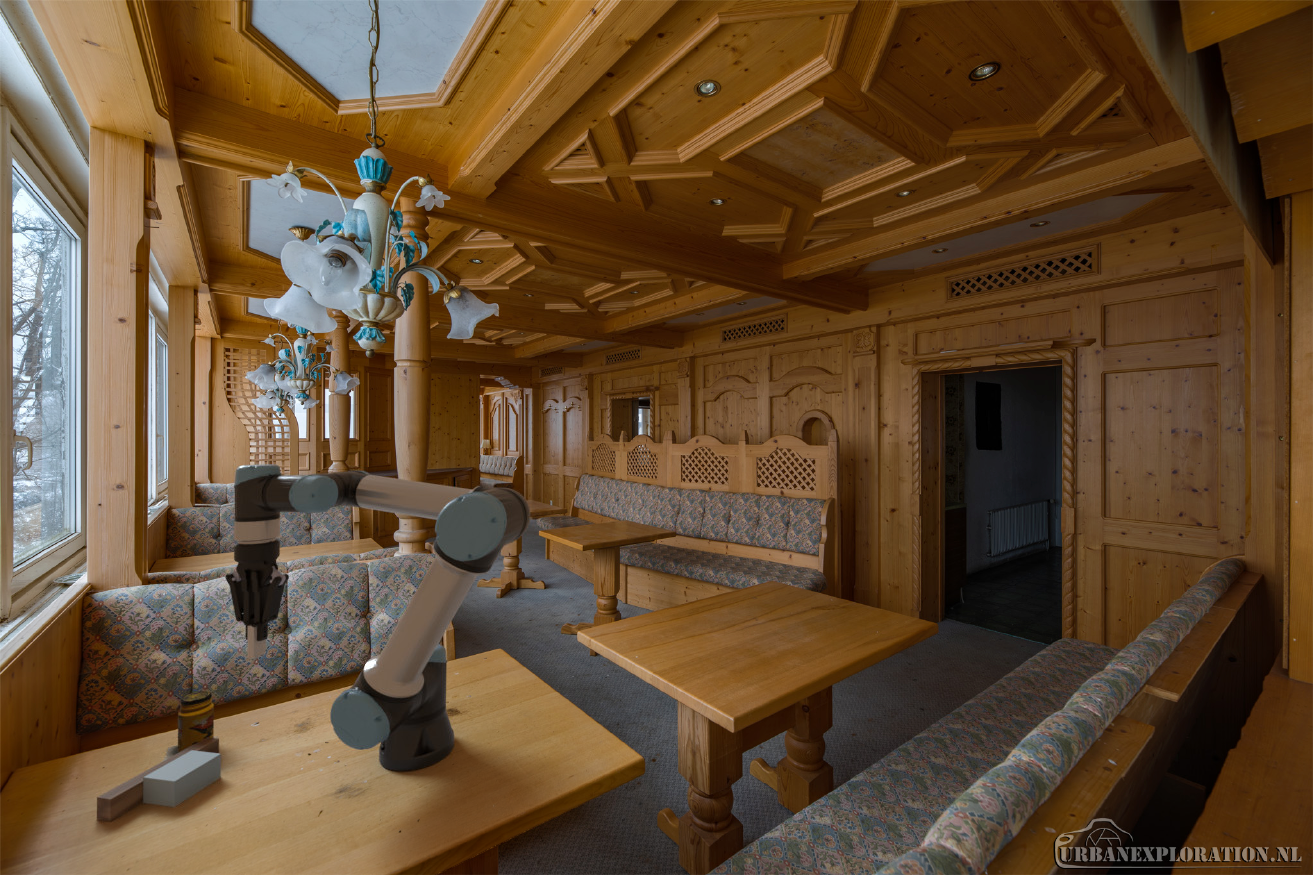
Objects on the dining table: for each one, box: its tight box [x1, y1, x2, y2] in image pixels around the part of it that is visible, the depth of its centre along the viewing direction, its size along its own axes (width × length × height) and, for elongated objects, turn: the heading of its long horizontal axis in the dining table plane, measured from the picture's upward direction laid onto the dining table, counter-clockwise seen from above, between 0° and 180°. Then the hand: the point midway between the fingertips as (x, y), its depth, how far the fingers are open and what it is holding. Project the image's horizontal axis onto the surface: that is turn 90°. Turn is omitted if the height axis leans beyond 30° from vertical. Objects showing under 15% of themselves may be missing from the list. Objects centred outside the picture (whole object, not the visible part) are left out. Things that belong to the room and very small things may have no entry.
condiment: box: [162, 690, 218, 762], centre depth 119 cm, size 7×8×12 cm
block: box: [142, 750, 222, 808], centre depth 106 cm, size 7×9×5 cm
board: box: [96, 737, 220, 823], centre depth 107 cm, size 3×20×4 cm, turn 170°
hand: (256, 655), depth 110 cm, fingers closed
